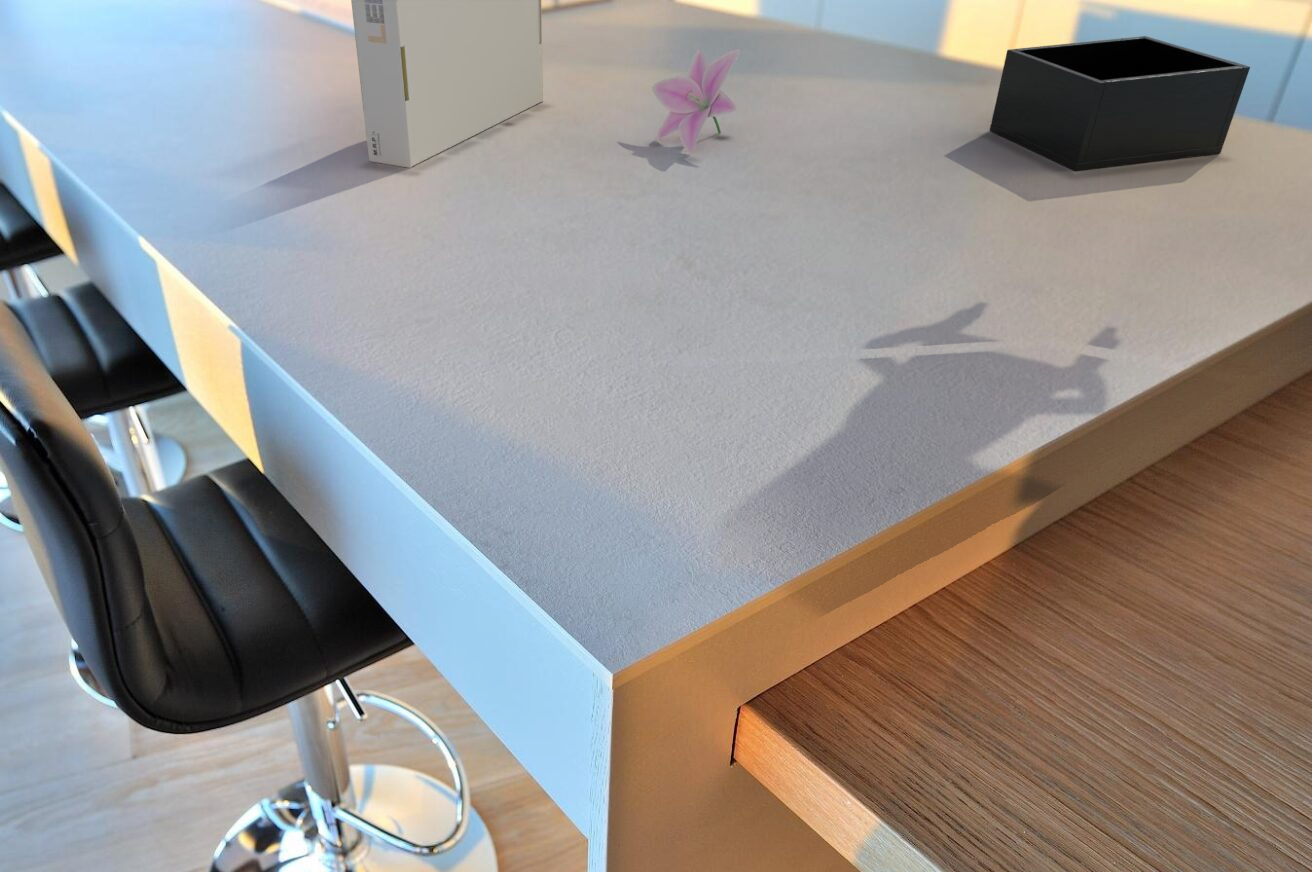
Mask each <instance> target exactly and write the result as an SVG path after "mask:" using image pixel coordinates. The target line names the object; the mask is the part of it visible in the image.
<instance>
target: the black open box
mask: <svg viewBox="0 0 1312 872" xmlns="http://www.w3.org/2000/svg"><path fill="white" fill-rule="evenodd" d="M1250 69H1251V66H1249V65H1247V64H1244V63H1243V64H1242V63H1239V62H1235V61H1232V60H1229V59H1225V58H1222V57H1218V56H1215V55H1212V54H1209V53H1204V52H1201V51H1198V50H1194V49H1191V48H1188V47H1185V46H1180V45H1177V44H1173V43H1170V42H1168V41H1164V40H1160V39H1157V38H1154V37H1150V36H1146V35H1142V36H1132V37H1122V38H1111V39H1101V40H1092V41H1091V40H1090V41H1084V42H1083V41H1082V42H1081V41H1080V42H1070V43H1062V44H1051V45H1041V46H1031V47H1021V48H1020V47H1019V48H1012V49H1007V50H1006V55H1005V59H1004V63H1003V68H1002V73H1001V77H1000V83H999V86H998V91H997V95H996V100H995V103H994V104H995V106H994V109H993V114H992V117H991V123H990V127H989V131H990V132H992V133H994V134H996V135H998V136H999V137H1003V138H1004V139H1006V140H1008V141H1011V142H1013V143H1015V144H1017V145H1020V146H1021V147H1023V148H1025V149H1028V150H1030V151H1032V152H1034V153H1036V154H1038V155H1040V156H1042V157H1045V158H1047V159H1049V160H1051V161H1053V162H1055V163H1057V164H1059V165H1062V166H1064V167H1066V168H1068V169H1070V170H1072V171H1075V172H1078V171H1086V170H1095V169H1102V168H1109V167H1120V166H1121V167H1122V166H1128V165H1136V164H1143V163H1144V164H1145V163H1153V162H1160V161H1161V162H1162V161H1171V160H1177V159H1178V160H1179V159H1185V158H1194V157H1203V156H1210V155H1211V156H1212V155H1221V153H1222V150H1223V147H1224V144H1225V141H1226V138H1227V136H1228V134H1229V130H1230V127H1231V125H1232V121H1233V119H1234V116H1235V113H1236V110H1237V107H1238V104H1239V101H1240V99H1241V95H1242V92H1243V90H1244V87H1245V83H1246V81H1247V77H1248V74H1249V72H1250Z"/></svg>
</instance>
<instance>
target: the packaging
mask: <svg viewBox="0 0 1312 872" xmlns="http://www.w3.org/2000/svg"><path fill="white" fill-rule="evenodd" d="M350 2H351V11H352V20H353V28H354V36H355V37H354V38H355V45H356V46H355V47H356V54H357V63H358V65H357V66H358V73H359V82H360V83H359V84H360V91H361V92H360V93H361V101H362V111H363V118H364V127H365V137H366V146H367V154H368V162H371V163H377V164H383V165H390V166H397V167H403V168H407V169H408V168H409V169H411V168H413V167H414V166H416V165H418V164H421V162H424V161H426V160H427V159H429V158H432V157H434V156H436V155H438V154H440V153H442V152H444V151H446V150H448V149H450V148H452V147H454V146H456V145H459V143H463V142H464V141H466V140H468V139H470V138H472V137H473V136H476V135H477V134H480V133H481V132H484V131H486V130H488V129H490V128H492V127H494V126H496V125H498V124H500V123H501V122H504V121H506V120H508V119H510V118H511V117H514V116H517V115H518V114H520V113H522V112H524V111H526V110H528V109H530V108H532V107H534V106H536V105H538V104H540V103H542V102H544V69H543V67H544V65H543V63H544V62H543V61H544V60H543V21H542V20H543V18H542V14H543V13H542V11H543V10H542V0H350Z"/></svg>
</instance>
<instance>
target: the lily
mask: <svg viewBox="0 0 1312 872" xmlns="http://www.w3.org/2000/svg"><path fill="white" fill-rule="evenodd" d="M740 54H741V49H739V48H737V49H732V50H731V51H729V52H726V53H724V54H722V55H721V56H719V57H717V58H715V59H714V60H712V61H711V62H710V63H709V64H708V61H707V60H706V56H705V54H704V52H703V49H702V48H698V49H697V50H696V52H695V54H694V56H693V58H692V60H691V62H690V64H689V67H688V70H687V72H686V75H685V76H684V75H677V76H672V77H669V78H665V79H663V80H660V81H658V82H656V83H654V84H653V86H652V87H651V88H652V89H651V91H652V93H653V95H654V96H655V98H656V99H657V100H658V101H659V103H660V104H661V105H662V106H663V107H664V108H665V109H666V110H668V111H669V113H668V114H667V116H665V119H664V120H663V122H662V124H661V125H660V128H659V130H658V132H657V135H656V137H655V140H656V141H660V140H662V139H664V138H665V137H668V136H669V135H671V134H673V133H675V132H676V131H677V132H678V135H679V139H680V142H681V144H682V146H683V149H684V150H685V152H686V153H687V154H688V155H691V154H692V153H693V152H694V150H695V148H696V145H697V143H698V140H699V137H700V135H701V132H702V129H703V128H704V125H705V123H706V121H707V118H712V119H713V121H714V124H715V127H716V130H717V133H718V134H721V133H722V131H721V128H720V125H719V121H718V120H717V117H719V116H723V115H727V114H732V113H734V112H735V111H737V106H736V104H735V103H734V102H733V100H732V99H731V98H730V97H729V95H727V93H725V92H724V91H723V90H722V87H723V86H724V83H725V81H726V79H727V78H728V75H729V73H730V72H731V71H732V69H733V67H734V65H735V63H736V62H737V60H738V58H739V56H740Z"/></svg>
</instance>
